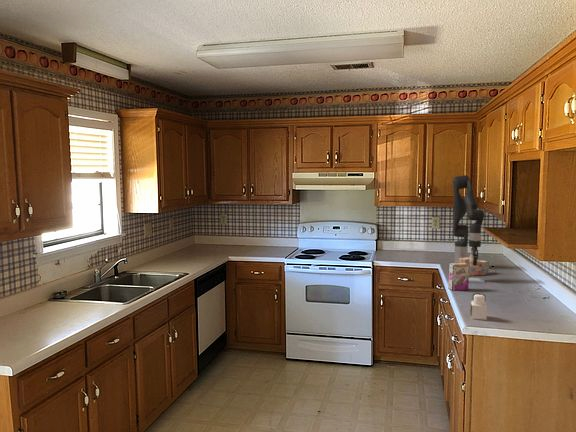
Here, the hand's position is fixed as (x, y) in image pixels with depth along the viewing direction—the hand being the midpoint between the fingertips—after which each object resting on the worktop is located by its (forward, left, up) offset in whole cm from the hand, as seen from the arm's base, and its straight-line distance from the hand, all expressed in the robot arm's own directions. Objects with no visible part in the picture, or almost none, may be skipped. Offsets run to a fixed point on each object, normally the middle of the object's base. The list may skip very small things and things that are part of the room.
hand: (474, 264), depth 319 cm
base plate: (0, 0, -11) cm, 11 cm away
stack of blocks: (-22, +3, -12) cm, 25 cm away
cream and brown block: (0, 0, -2) cm, 2 cm away
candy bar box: (+27, -13, -11) cm, 32 cm away
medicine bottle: (+85, -11, -11) cm, 86 cm away
